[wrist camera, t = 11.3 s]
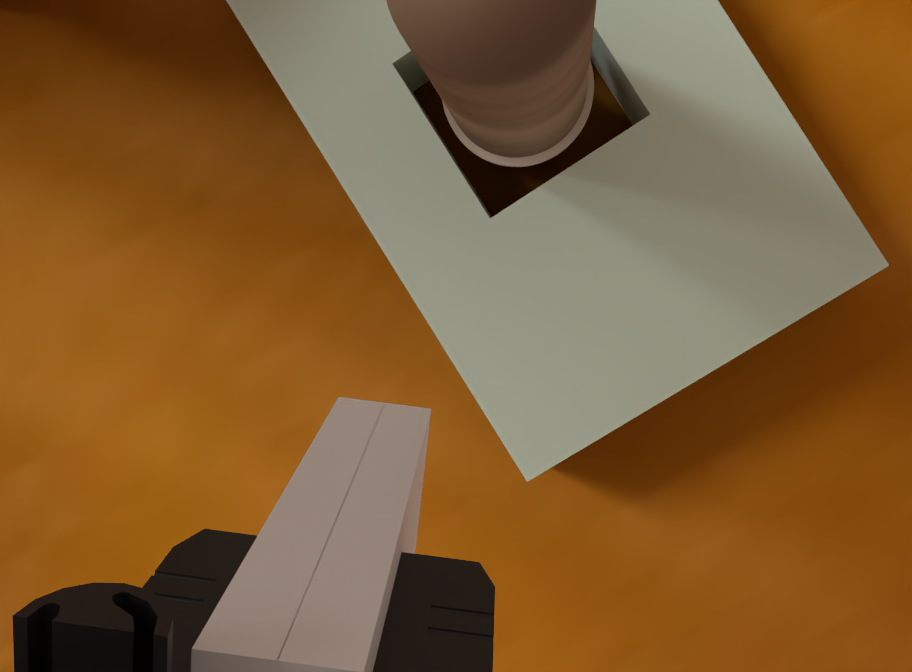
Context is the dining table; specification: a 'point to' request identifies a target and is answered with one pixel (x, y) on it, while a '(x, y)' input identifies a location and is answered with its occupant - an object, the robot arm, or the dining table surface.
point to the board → (582, 215)
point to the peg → (506, 71)
